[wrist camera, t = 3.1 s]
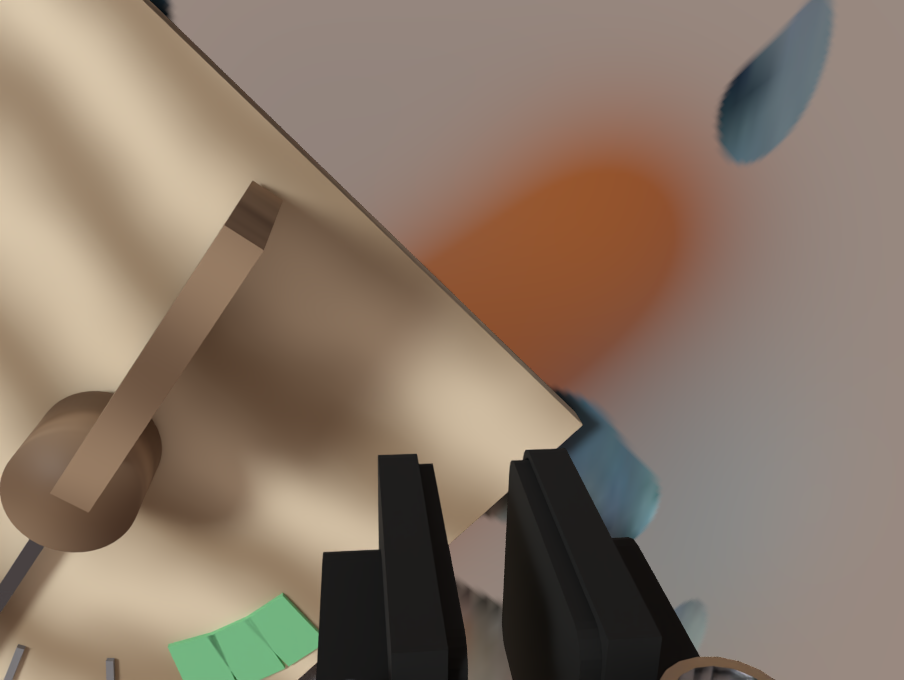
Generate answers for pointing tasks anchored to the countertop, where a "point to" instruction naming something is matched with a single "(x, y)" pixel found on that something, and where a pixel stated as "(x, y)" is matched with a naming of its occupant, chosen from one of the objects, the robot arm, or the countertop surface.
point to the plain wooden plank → (123, 413)
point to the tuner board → (217, 357)
